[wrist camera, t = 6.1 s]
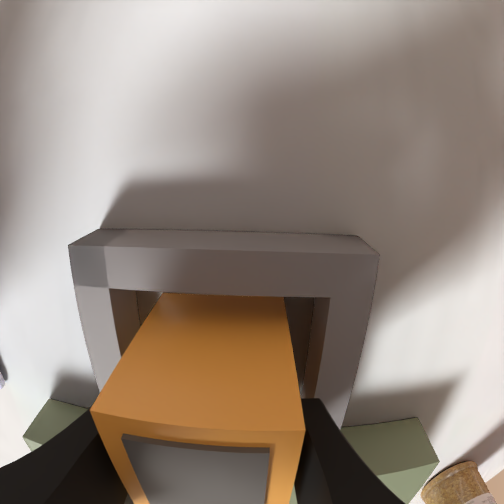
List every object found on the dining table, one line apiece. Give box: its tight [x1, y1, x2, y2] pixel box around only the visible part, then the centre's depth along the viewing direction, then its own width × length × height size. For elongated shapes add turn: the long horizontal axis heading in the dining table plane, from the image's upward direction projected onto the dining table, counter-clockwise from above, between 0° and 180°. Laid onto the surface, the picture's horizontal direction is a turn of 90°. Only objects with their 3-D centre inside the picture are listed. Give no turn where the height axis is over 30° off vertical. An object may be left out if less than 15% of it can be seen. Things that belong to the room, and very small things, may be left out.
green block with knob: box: [23, 229, 440, 504], centre depth 10 cm, size 18×17×5 cm
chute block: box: [90, 293, 305, 504], centre depth 8 cm, size 4×5×6 cm
